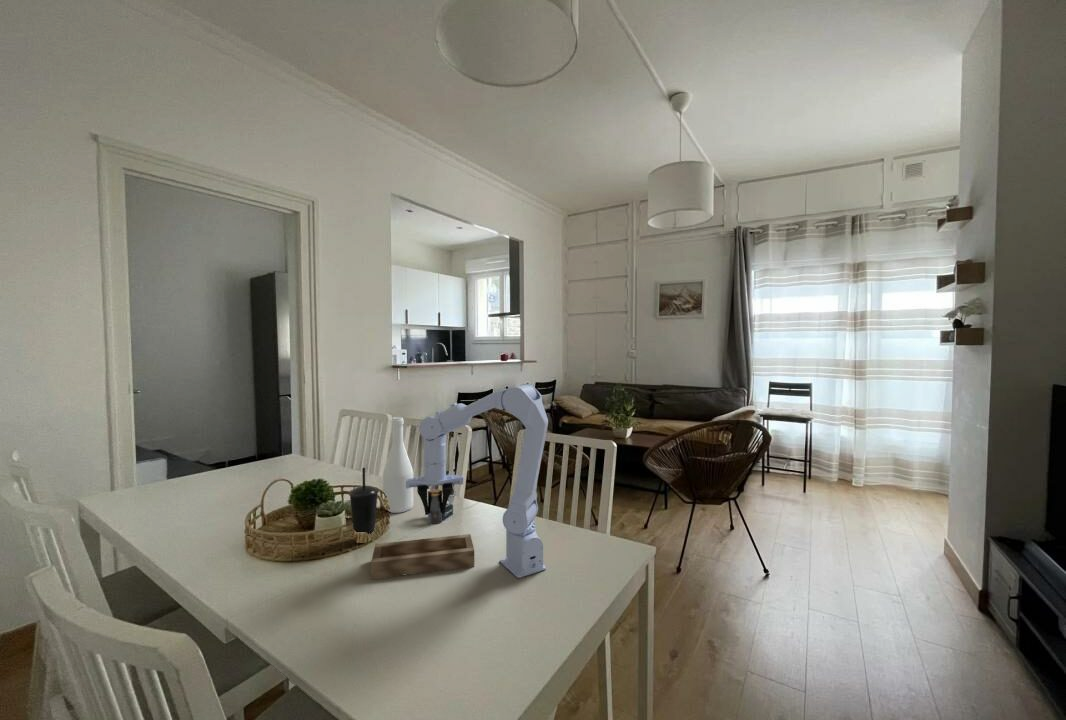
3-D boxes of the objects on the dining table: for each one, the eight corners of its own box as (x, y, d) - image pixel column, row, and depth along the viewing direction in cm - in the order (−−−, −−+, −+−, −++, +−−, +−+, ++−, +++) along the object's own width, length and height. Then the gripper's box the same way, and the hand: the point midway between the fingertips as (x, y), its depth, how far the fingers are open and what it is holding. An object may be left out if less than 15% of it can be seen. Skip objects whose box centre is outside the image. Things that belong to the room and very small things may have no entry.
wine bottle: (376, 511, 137) (376, 419, 136) (394, 501, 146) (394, 414, 145) (402, 515, 134) (401, 420, 133) (418, 504, 144) (418, 416, 142)
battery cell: (444, 522, 111) (443, 492, 111) (430, 525, 109) (430, 494, 109) (439, 518, 114) (439, 488, 114) (426, 520, 113) (426, 490, 112)
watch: (448, 521, 130) (448, 486, 129) (426, 517, 133) (426, 482, 132) (458, 515, 135) (458, 480, 135) (436, 511, 138) (436, 477, 138)
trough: (470, 548, 113) (470, 534, 113) (474, 566, 104) (474, 550, 104) (375, 559, 107) (375, 544, 107) (371, 579, 98) (371, 562, 98)
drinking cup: (383, 534, 121) (383, 464, 120) (371, 547, 114) (370, 472, 113) (358, 533, 122) (357, 463, 121) (343, 545, 114) (342, 471, 114)
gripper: (461, 455, 117) (461, 504, 117) (406, 459, 113) (407, 509, 114) (463, 462, 110) (464, 514, 111) (405, 466, 107) (405, 520, 107)
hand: (435, 512), depth 112 cm, fingers closed on battery cell, 4 cm apart
